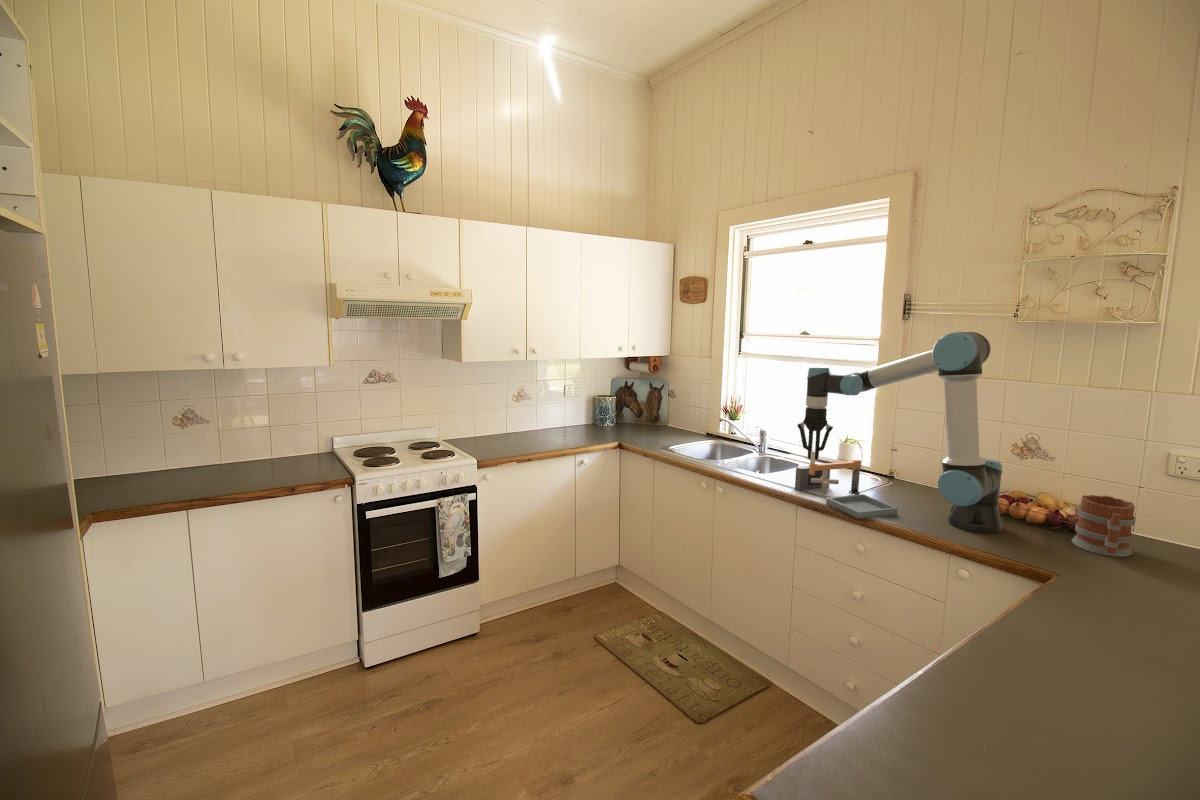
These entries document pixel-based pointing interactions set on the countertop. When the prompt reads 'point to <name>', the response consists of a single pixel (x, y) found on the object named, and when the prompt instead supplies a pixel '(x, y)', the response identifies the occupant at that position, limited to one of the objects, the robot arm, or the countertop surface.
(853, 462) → the tan bar handle
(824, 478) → the pipe connector
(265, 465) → the countertop surface
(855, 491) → the post
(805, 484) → the socket block
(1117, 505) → the mug
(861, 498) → the tray
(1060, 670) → the countertop surface
